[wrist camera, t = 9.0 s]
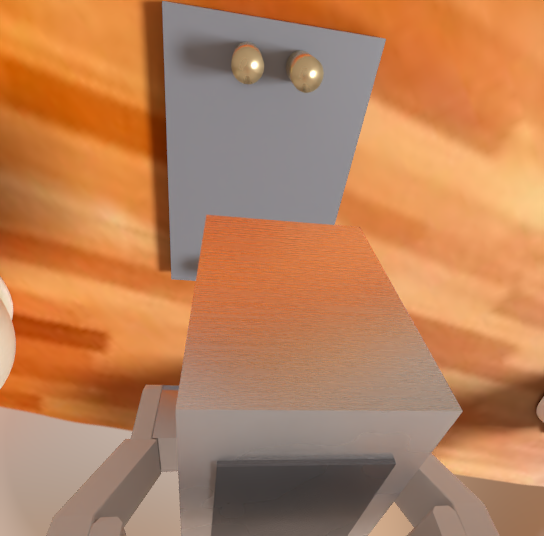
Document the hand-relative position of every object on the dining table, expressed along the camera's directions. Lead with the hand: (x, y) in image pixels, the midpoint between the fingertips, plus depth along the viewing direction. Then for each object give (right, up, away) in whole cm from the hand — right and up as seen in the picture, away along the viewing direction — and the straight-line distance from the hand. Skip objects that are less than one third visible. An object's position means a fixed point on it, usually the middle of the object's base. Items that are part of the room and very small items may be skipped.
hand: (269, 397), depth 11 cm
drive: (0, +1, +2) cm, 2 cm away
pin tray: (-1, +11, +14) cm, 17 cm away
